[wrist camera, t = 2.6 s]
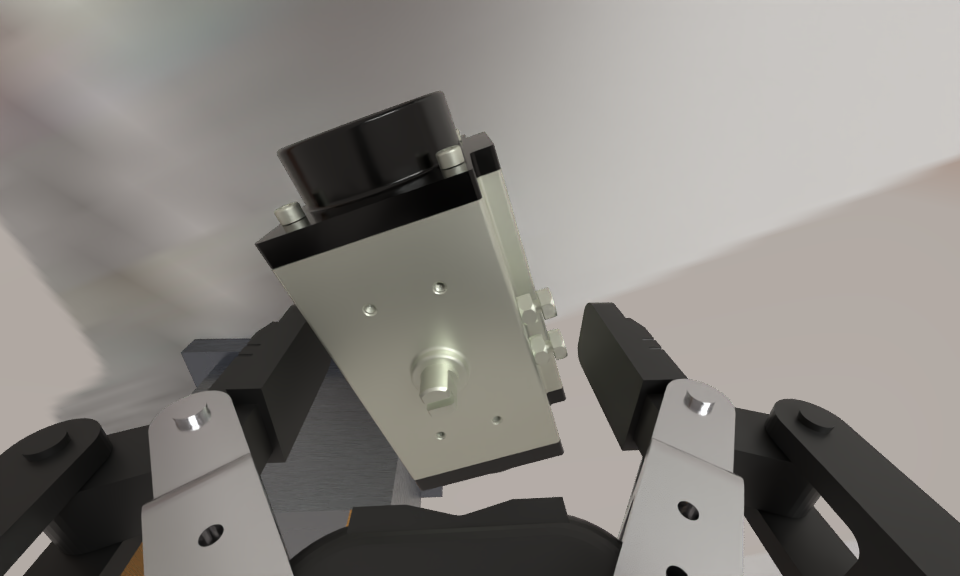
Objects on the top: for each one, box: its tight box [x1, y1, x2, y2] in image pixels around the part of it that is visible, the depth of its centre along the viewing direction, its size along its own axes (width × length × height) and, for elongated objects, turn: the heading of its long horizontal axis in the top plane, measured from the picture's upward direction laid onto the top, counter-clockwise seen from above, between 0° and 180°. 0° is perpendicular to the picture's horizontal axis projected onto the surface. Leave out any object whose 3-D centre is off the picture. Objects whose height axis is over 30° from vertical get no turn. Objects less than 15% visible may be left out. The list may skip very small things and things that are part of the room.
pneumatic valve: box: [255, 91, 567, 491], centre depth 13 cm, size 6×12×12 cm, turn 18°
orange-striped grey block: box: [120, 339, 443, 576], centre depth 20 cm, size 15×14×11 cm
